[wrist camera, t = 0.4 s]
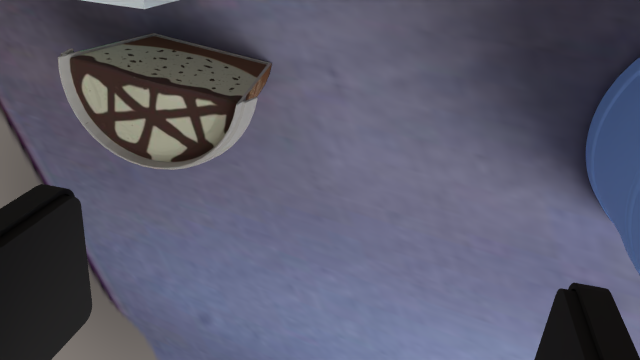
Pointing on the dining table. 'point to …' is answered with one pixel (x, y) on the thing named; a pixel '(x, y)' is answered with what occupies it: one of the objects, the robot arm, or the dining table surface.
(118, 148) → the food container
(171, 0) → the open storage bin
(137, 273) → the dining table surface
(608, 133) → the water jug
